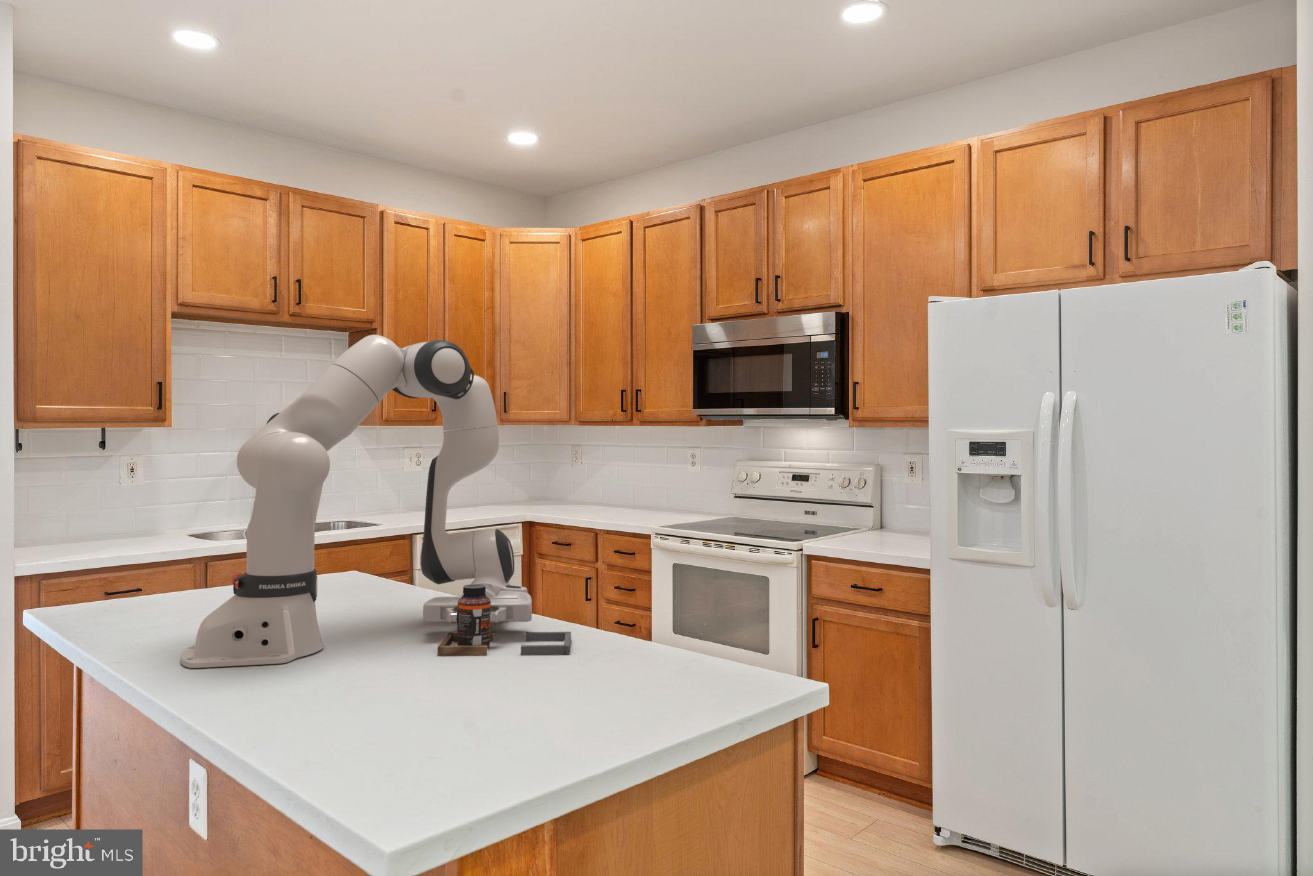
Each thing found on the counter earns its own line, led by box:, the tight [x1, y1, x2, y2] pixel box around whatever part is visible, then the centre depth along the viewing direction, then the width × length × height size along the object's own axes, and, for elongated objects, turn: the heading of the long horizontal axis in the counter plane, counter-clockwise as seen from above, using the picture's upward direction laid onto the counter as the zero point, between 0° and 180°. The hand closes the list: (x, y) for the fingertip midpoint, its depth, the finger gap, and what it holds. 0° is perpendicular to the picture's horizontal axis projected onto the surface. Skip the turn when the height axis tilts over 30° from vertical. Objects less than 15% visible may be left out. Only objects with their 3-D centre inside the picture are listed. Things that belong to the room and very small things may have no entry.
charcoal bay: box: [520, 631, 572, 656], centre depth 155 cm, size 8×11×2 cm
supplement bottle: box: [456, 583, 491, 649], centre depth 154 cm, size 6×6×11 cm
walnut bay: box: [436, 631, 495, 657], centre depth 154 cm, size 8×11×2 cm
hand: (473, 618), depth 153 cm, fingers closed on supplement bottle, 6 cm apart
